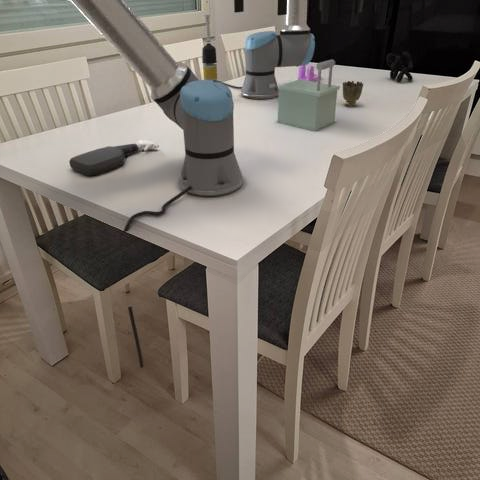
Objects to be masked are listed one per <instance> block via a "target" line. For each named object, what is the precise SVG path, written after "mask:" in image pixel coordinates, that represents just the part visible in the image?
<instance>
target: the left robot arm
mask: <svg viewBox="0 0 480 480" xmlns="http://www.w3.org/2000/svg"><path fill="white" fill-rule="evenodd" d="M68 2H71V3H72V4H73V5H74V6H75V7H76V8H77V9H78V11H79V12H80V13H81V14H82V15H83V16H84V17H85V19H87V20H88V22H89V23H90V24H92V26H93V27H94V28H95V29H96V30H97V31H98V32H99V33H100V34H101V36H102V37H103V38H104V39H105V40H106V41H107V42H108V43H109V44H110V45H111V47H113V48H114V50H115V51H116V52H117V53H118V55H120V57H122V59H123V60H124V61H125V62H126V63H127V64H128V66H130V67H131V68H132V70H134V71H135V73H136V74H137V75H138V76H139V78H141V79H142V80H143V81H144V82H145V83H146V84H147V85H148V87H149V96H150V98H151V99H152V100H153V102H155V103H156V104H157V106H158V107H159V108H160V109H161V110H162V112H163V114H164V115H165V117H167V118H168V119H169V120H170V121H171V122H173V123H175V125H177V127H179V128H180V129H181V130H182V131H183V141H184V142H183V143H184V154H185V155H184V158H183V164H182V168H181V171H180V177H179V178H180V179H179V183H180V184H179V185H180V188H181V189H182V191H180V192H179V193H177V194H176V195H174V197H172V198H170V199H169V200H167V201H166V202H165V203H164V204H163V205H162V206H161V210H159V211H152V210H144V211H140V212H139V211H138V212H137V213H133V215H131V216H130V217H129V219H128V220H127V222H126V224H125V226H124V229H123V233H127V232H128V231H129V229H130V227H131V225H132V223H133V221H134V220H135V219H136V218H139V217H142V216H147V215H148V216H161V215H164V214H166V209H167V207H169V205H171V204H172V203H174V202H175V201H177V200H178V199H180V198H181V197H183V196H184V195H185V194H190V195H194V196H199V197H221V196H224V195H229V194H232V193H234V192H235V191H237V190H239V189H240V188H241V187H242V185H243V174H242V171H241V168H240V165H239V163H238V160H237V157H236V154H235V132H234V131H235V130H234V127H235V126H234V109H235V104H234V100H233V98H234V97H233V93H232V90H231V88H230V87H229V86H226V85H224V84H222V83H220V82H221V81H220V82H214V81H210V80H204V79H202V80H201V79H199V78H198V77H197V75H195V73H194V72H193V71H192V70H191V69H190V67H189V66H188V65H187V64H186V62H177V61H176V60H175V59H174V58H173V57H172V55H171V54H170V53H169V51H167V49H166V48H165V47H164V46H163V45H162V44H161V42H160V40H158V38H157V37H156V36H155V35H154V33H152V31H151V30H150V29H149V28H148V27H147V25H146V24H145V23H144V22H143V20H142V19H141V18H140V17H139V16H138V14H137V13H136V12H135V10H134V9H133V8H132V7H131V6H130V4H128V2H127V1H126V0H68ZM244 3H245V2H244V0H233V9H234V11H233V12H234V13H242V12H243V13H245V8H244V7H245V6H244V5H245V4H244ZM276 14H277V16H284V15H286V14H287V0H277V13H276ZM127 309H128V315H129V319H130V324H131V328H132V333H133V337H134V341H135V346H136V352H137V356H138V357H137V358H138V361H139V368H141V369H143V368H144V359H143V355H142V349H141V345H140V344H141V343H140V340H139V336H138V330H137V325H136V321H135V316H134V311H133V307H132V306H128V307H127Z"/></svg>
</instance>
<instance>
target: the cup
mask: <svg viewBox="0 0 480 480" xmlns="http://www.w3.org/2000/svg"><path fill="white" fill-rule="evenodd" d="M363 88H364V83H363V82H362V81H357V82H354V80H352V81H350V80H347V81H343V82H342V97H343V99H344V100H345V105H346V106H348V107H353V106H355V105H356V104H357V102H358V100H359V99H360V98H361V96H362V92H363Z"/></svg>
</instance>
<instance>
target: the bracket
mask: <svg viewBox="0 0 480 480" xmlns="http://www.w3.org/2000/svg"><path fill="white" fill-rule="evenodd" d="M306 66H307V65H304V66H299V67H298V77H297V78H298V79H297V80H299V79H300V80H306V81H312V82H317V81H318V73H315V66H313V65H308V66H307V67H306Z"/></svg>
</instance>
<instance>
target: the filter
mask: <svg viewBox="0 0 480 480" xmlns="http://www.w3.org/2000/svg"><path fill="white" fill-rule="evenodd" d="M210 17H211V14H204V18H205V27H206V29H205V30H206V31H205V33H206V39H207V40H206V42H207V43H206V45H204V46H202V49H201V50H202V51H201V52H202V54H201V55H202V57H201V58H202V61H201V63H202V71H203V72H202V73H203V74H202V75H203V80H210V81H212V80H217V81H218V64H216V63H218V61H217V48H216V47H215V46H214V45H212V43H210V42H211V40H210V39H211V31H210V29H211V28H210ZM214 82H215V81H214Z"/></svg>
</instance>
